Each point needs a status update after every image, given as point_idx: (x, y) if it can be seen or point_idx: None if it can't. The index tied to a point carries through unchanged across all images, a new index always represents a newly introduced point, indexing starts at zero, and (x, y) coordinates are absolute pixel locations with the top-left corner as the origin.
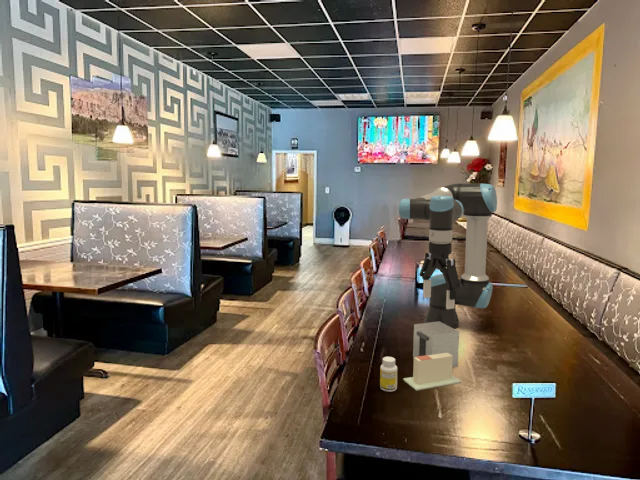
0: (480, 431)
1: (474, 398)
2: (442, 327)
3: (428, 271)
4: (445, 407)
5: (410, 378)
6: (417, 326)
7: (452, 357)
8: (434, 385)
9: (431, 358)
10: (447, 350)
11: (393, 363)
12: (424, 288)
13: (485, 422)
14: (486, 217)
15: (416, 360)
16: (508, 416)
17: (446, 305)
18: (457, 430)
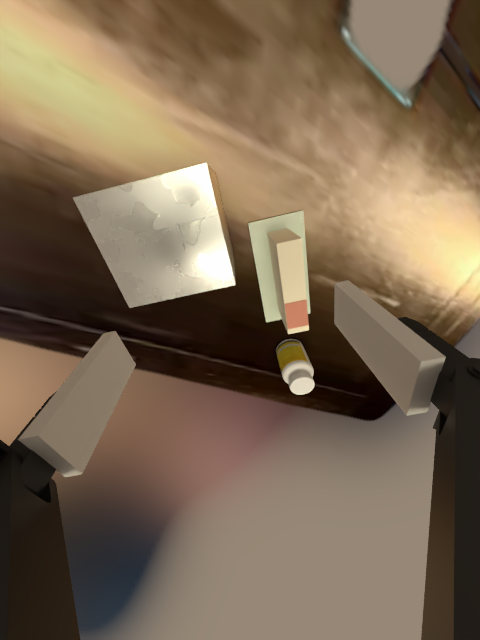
0: (463, 260)
1: (373, 214)
2: (156, 218)
3: (72, 612)
4: (377, 285)
5: (268, 310)
6: (149, 303)
7: (300, 237)
8: (306, 277)
9: (306, 301)
10: (222, 215)
11: (312, 378)
12: (112, 411)
13: (449, 238)
14: None
15: (299, 330)
16: (461, 177)
17: (345, 333)
18: (440, 294)
